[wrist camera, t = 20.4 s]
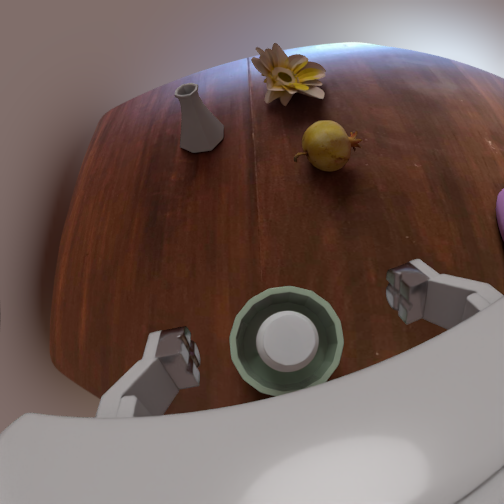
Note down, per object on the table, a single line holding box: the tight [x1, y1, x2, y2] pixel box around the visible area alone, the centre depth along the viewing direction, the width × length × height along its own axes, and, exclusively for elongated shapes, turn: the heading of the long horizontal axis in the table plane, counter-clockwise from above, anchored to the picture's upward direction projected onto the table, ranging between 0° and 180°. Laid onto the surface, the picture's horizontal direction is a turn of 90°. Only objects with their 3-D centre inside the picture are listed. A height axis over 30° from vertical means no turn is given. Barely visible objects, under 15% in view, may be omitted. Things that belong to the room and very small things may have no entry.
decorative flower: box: [251, 43, 326, 106], centre depth 39 cm, size 15×11×10 cm
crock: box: [229, 286, 344, 396], centre depth 27 cm, size 10×10×6 cm
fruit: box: [294, 121, 362, 171], centre depth 34 cm, size 7×7×10 cm
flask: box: [175, 83, 224, 153], centre depth 36 cm, size 7×7×10 cm
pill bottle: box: [256, 311, 319, 372], centre depth 24 cm, size 5×5×10 cm
